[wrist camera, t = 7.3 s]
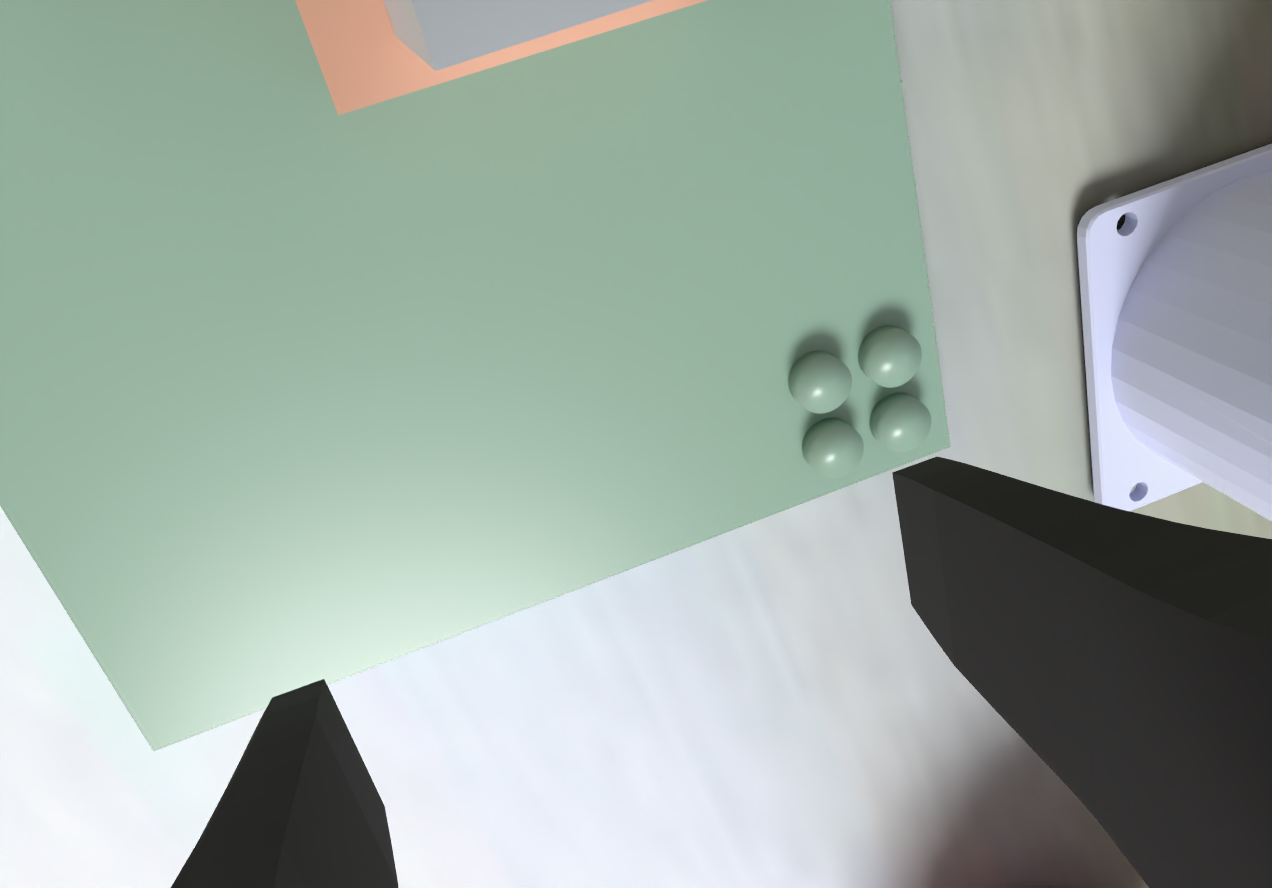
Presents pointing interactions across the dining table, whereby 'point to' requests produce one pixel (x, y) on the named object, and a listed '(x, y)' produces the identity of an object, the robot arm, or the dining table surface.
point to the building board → (432, 323)
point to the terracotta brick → (386, 68)
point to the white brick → (486, 24)
